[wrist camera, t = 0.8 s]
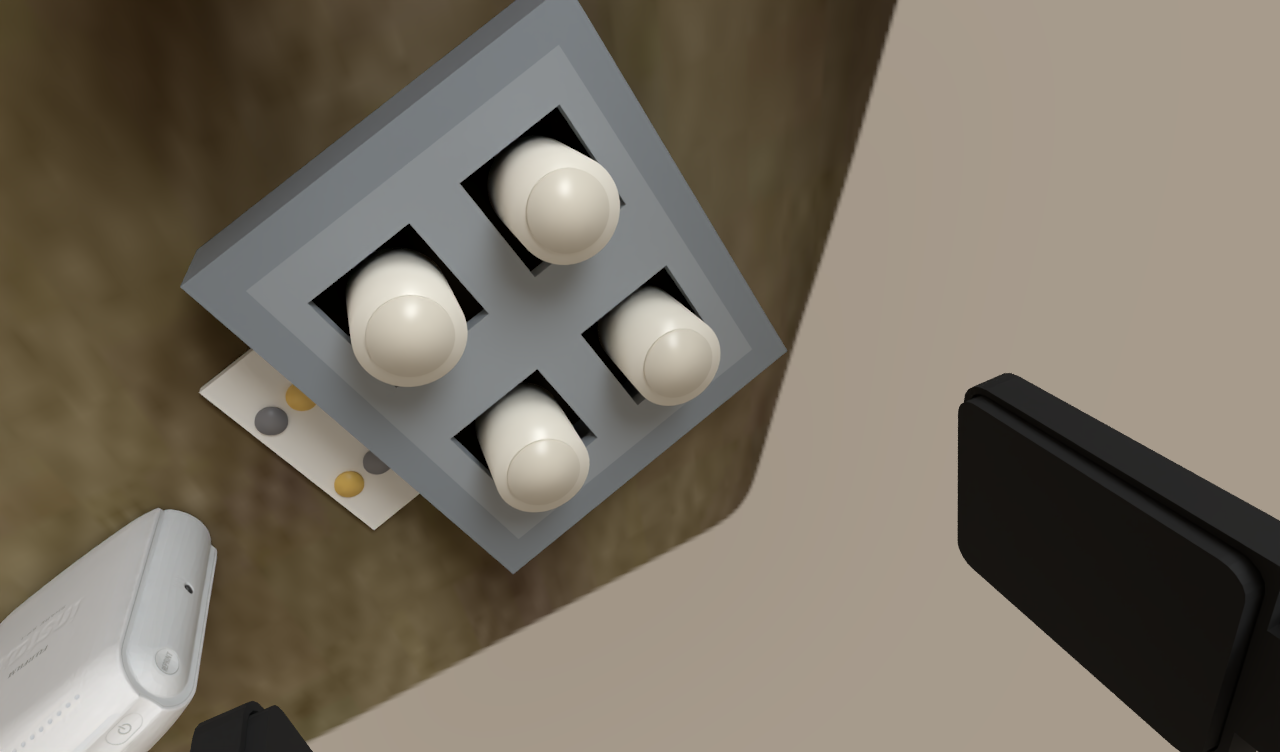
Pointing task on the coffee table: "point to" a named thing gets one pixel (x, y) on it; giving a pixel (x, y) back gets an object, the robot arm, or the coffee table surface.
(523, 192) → the button
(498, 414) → the button
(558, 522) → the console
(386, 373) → the button
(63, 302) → the coffee table surface
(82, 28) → the coffee table surface
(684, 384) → the button
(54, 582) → the photo printer
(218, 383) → the card
